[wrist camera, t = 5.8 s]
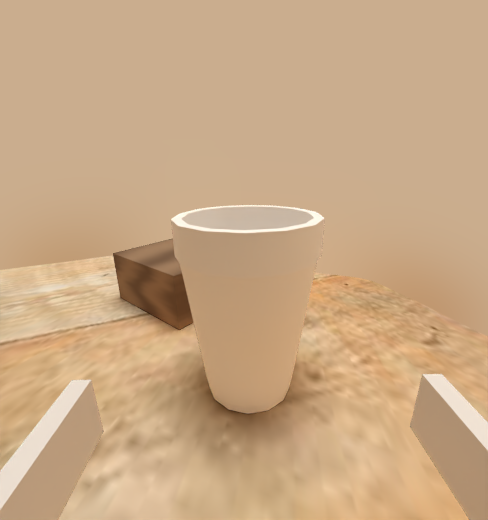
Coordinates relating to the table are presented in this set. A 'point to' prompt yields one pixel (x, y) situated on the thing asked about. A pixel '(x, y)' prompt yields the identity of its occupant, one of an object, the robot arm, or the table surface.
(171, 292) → the walnut block
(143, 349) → the table surface
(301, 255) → the foam cup
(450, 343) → the table surface
